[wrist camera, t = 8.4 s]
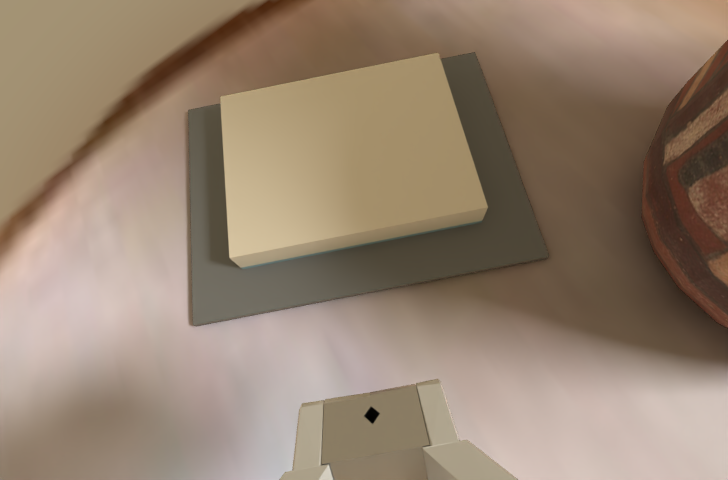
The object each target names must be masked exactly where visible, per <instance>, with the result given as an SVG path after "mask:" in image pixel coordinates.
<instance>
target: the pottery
mask: <svg viewBox="0 0 728 480" xmlns="http://www.w3.org/2000/svg"><path fill="white" fill-rule="evenodd" d="M642 220H643V222H644V225H645V228H646V231H647V234H648V237H649V240H650V243H651V246H652V248H653V251H654V253H655V254H656V256H657V257H658V259H659V260H660V262H661V263H662V264H663V266H664V267H665V269H666V270H667V272H668V273H669V275H670V276H671V278H672V279H673V281H674V282H675V284H676V285H677V287H678V288H680V289H681V290H682V291H683V292H684V293H685V294H686V295H687V296H688V297H689V298H691V299H692V300H693V301H694V302H695V303H696V304H697V305H698V306H699V307H700V308H702V309H703V310H704V311H705V312H706V313H707V314H708V315H709V316H710V317H711V318H713V319H714V320H715V321H716V322H717V323H719V324H721V325H723V326H725V327H727V328H728V40H727V41H726V42H725V43H724V44H723V45H722V46H721V47H720V49H719V50H718V51H717V52H716V53H715V54H714V55H713V56H712V57H711V58H710V59H709V60H708V61H707V62H706V63H705V64H704V65H703V66H702V67H701V68H700V69H699V71H698V72H697V73H696V74H695V75H694V76H693V77H692V78H691V79H690V80H689V81H688V82H687V83H686V84H685V86H684V87H683V88H682V89H681V90H680V92H679V93H678V94H677V95H676V97H675V98H674V99H673V100H672V102H671V103H670V104H669V105H668V107H667V109H666V111H665V114H664V116H663V118H662V121H661V123H660V125H659V128H658V130H657V132H656V135H655V137H654V139H653V142H652V144H651V146H650V149H649V151H648V153H647V156H646V158H645V160H644V168H643V194H642Z"/></svg>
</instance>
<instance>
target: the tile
mask: <svg viewBox="0 0 728 480" xmlns="http://www.w3.org/2000/svg"><path fill="white" fill-rule="evenodd" d="M220 103H221V121H222V138H223V155H224V173H225V190H226V207H227V225H228V242H229V258H230V259H231V260H232V261H233V262H235V263H236V264H237V265H238V266H239V267H240V268H242V269H247V268H252V267H257V266H262V265H267V264H272V263H278V262H283V261H288V260H293V259H298V258H303V257H308V256H313V255H318V254H323V253H329V252H334V251H339V250H344V249H349V248H354V247H359V246H364V245H369V244H375V243H380V242H385V241H390V240H395V239H400V238H405V237H410V236H415V235H421V234H426V233H431V232H436V231H441V230H446V229H451V228H456V227H461V226H467V225H472V224H477V223H482V220H483V218H484V216H485V213H486V211H487V209H488V206H487V203H486V199H485V196H484V193H483V190H482V187H481V184H480V181H479V178H478V174H477V171H476V168H475V165H474V162H473V159H472V156H471V153H470V150H469V146H468V143H467V140H466V137H465V134H464V131H463V128H462V125H461V121H460V118H459V115H458V112H457V109H456V106H455V103H454V100H453V97H452V93H451V90H450V87H449V84H448V81H447V78H446V75H445V72H444V68H443V65H442V62H441V59H440V56H439V53H433V54H428V55H423V56H418V57H413V58H408V59H403V60H398V61H393V62H389V63H384V64H379V65H374V66H369V67H364V68H359V69H354V70H349V71H344V72H339V73H334V74H329V75H324V76H319V77H314V78H309V79H304V80H299V81H295V82H290V83H285V84H280V85H275V86H270V87H265V88H260V89H255V90H250V91H245V92H240V93H235V94H230V95H225V96H220Z"/></svg>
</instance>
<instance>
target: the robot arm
mask: <svg viewBox="0 0 728 480" xmlns="http://www.w3.org/2000/svg"><path fill="white" fill-rule="evenodd" d="M280 480H518V479H517V478H515V477H514V476H513V475H512V474H510V473H509V472H508V471H507V470H505V469H504V468H503V467H501V466H500V465H499V464H498V463H496V462H495V461H494V460H492V459H491V458H490V457H489V456H487V455H486V454H485V453H484V452H482V451H481V450H480V449H478V448H477V447H476V446H475V445H473V444H472V443H471V442H470V441H468V440H462V441H460V440H459V437H458V434H457V430H456V427H455V424H454V421H453V418H452V415H451V412H450V409H449V406H448V403H447V399H446V396H445V393H444V390H443V387H442V384H441V382H440V380H439V379H435V380H430V381H425V382H420V383H416V385H415V384H411V385H406V386H401V387H396V388H390V389H385V390H380V391H374V392H370V393H363V394H357V395H351V396H344V397H338V398H331V399H325V400H322V401H316V402H309V403H302V405H301V407H300V409H299V417H298V426H297V434H296V443H295V452H294V460H293V469H292V471H289V472H285V473H284V474H283V476H282V477H281V478H280Z"/></svg>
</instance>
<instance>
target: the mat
mask: <svg viewBox="0 0 728 480" xmlns="http://www.w3.org/2000/svg"><path fill="white" fill-rule="evenodd" d="M441 62H442V65H443V68H444V72H445V75H446V78H447V81H448V84H449V87H450V90H451V93H452V97H453V100H454V103H455V106H456V109H457V112H458V115H459V118H460V121H461V125H462V128H463V131H464V134H465V137H466V140H467V143H468V146H469V150H470V153H471V156H472V159H473V162H474V165H475V168H476V171H477V174H478V178H479V181H480V184H481V187H482V190H483V193H484V196H485V199H486V203H487V206H488V209H487V211H486V213H485V216H484V218H483V220H482V223H477V224H472V225H467V226H461V227H456V228H451V229H446V230H441V231H436V232H431V233H426V234H421V235H415V236H410V237H405V238H400V239H395V240H390V241H385V242H380V243H375V244H369V245H364V246H359V247H354V248H349V249H344V250H339V251H334V252H329V253H323V254H318V255H313V256H308V257H303V258H298V259H293V260H288V261H283V262H278V263H272V264H267V265H262V266H257V267H252V268H247V269H242V268H240V267H239V266H238V265H237V264H236V263H235V262H233V261H232V260H231V259H230V258H229V242H228V225H227V207H226V190H225V173H224V155H223V138H222V121H221V104H216V105H211V106H206V107H201V108H196V109H191V110H188V118H189V165H190V212H191V259H192V307H193V325H194V326H201V325H206V324H211V323H216V322H222V321H227V320H232V319H237V318H242V317H247V316H252V315H258V314H263V313H268V312H273V311H278V310H283V309H289V308H294V307H299V306H304V305H309V304H314V303H319V302H325V301H330V300H335V299H340V298H345V297H350V296H356V295H361V294H366V293H371V292H376V291H381V290H386V289H392V288H397V287H402V286H407V285H412V284H417V283H423V282H428V281H433V280H438V279H443V278H448V277H453V276H459V275H464V274H469V273H474V272H479V271H484V270H490V269H495V268H500V267H505V266H510V265H515V264H520V263H526V262H531V261H536V260H541V259H546V258H548V257H549V254H548V252H547V249H546V246H545V243H544V241H543V238H542V235H541V232H540V230H539V227H538V224H537V221H536V219H535V216H534V213H533V210H532V208H531V205H530V202H529V199H528V197H527V194H526V191H525V188H524V186H523V183H522V180H521V177H520V175H519V172H518V169H517V166H516V164H515V161H514V158H513V155H512V153H511V150H510V147H509V145H508V142H507V139H506V136H505V134H504V131H503V128H502V125H501V123H500V120H499V117H498V114H497V112H496V109H495V106H494V103H493V101H492V98H491V95H490V92H489V90H488V87H487V84H486V81H485V79H484V76H483V73H482V70H481V68H480V65H479V62H478V59H477V57H476V54H475V52H473V53H468V54H463V55H458V56H454V57H449V58H444V59H441Z"/></svg>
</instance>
